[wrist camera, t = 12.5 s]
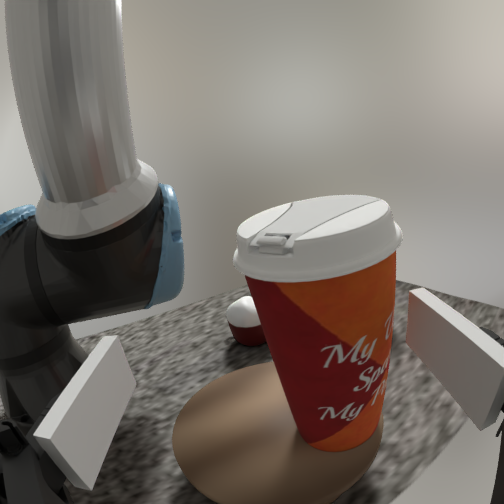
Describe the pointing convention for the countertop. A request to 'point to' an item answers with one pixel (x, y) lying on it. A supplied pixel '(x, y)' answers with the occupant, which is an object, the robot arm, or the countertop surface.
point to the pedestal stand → (259, 445)
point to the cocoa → (245, 322)
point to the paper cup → (326, 309)
